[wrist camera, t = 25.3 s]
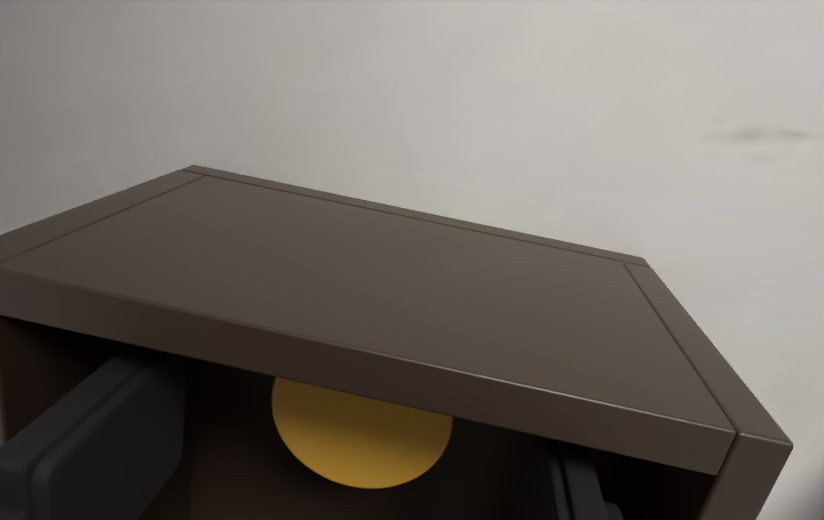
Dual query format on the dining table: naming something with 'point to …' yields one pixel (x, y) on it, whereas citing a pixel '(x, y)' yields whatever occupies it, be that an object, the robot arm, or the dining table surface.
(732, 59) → the dining table surface
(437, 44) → the dining table surface
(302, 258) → the dark brown wooden crate
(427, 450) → the pod
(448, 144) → the dining table surface
